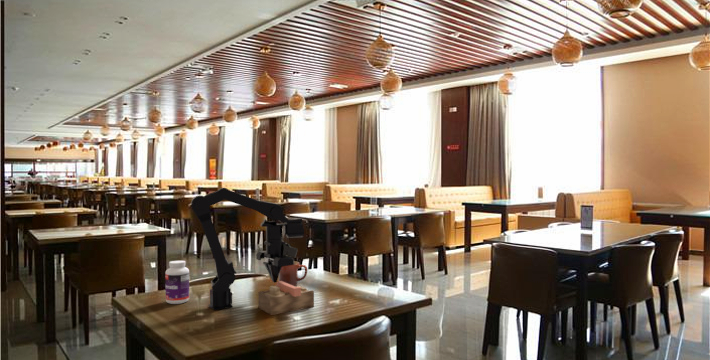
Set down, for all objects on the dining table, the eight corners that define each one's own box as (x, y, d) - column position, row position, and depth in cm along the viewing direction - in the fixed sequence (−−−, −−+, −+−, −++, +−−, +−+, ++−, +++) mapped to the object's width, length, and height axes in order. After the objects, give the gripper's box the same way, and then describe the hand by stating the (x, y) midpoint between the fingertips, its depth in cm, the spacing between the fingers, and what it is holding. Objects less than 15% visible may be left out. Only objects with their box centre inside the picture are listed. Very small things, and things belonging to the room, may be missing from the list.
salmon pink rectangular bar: (294, 296, 157) (294, 288, 157) (275, 288, 168) (275, 281, 168) (301, 295, 158) (300, 287, 158) (281, 287, 170) (281, 280, 170)
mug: (274, 291, 187) (274, 265, 187) (280, 286, 196) (280, 260, 195) (305, 292, 186) (304, 265, 186) (309, 286, 194) (309, 261, 194)
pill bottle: (160, 303, 171) (160, 262, 171) (178, 297, 178) (177, 259, 178) (176, 305, 167) (176, 264, 167) (194, 300, 175) (193, 260, 174)
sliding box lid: (272, 300, 158) (272, 290, 158) (263, 295, 164) (263, 286, 164) (310, 293, 166) (310, 284, 166) (300, 289, 172) (300, 280, 172)
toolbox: (271, 315, 156) (270, 295, 156) (258, 308, 164) (258, 289, 164) (313, 306, 165) (313, 288, 165) (299, 300, 173) (299, 283, 173)
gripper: (307, 239, 168) (307, 283, 169) (282, 234, 184) (283, 274, 184) (278, 242, 162) (278, 288, 162) (255, 236, 177) (255, 278, 177)
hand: (274, 282), depth 172 cm, fingers closed
